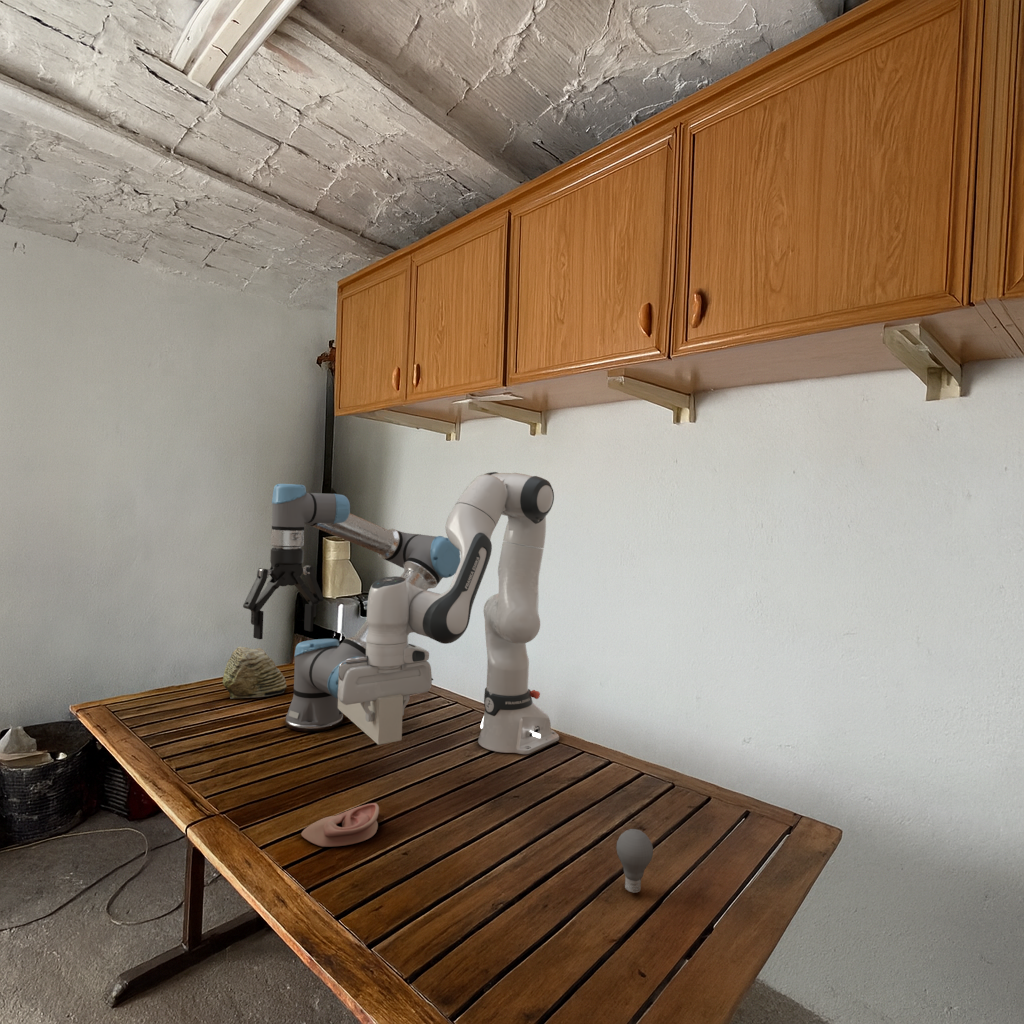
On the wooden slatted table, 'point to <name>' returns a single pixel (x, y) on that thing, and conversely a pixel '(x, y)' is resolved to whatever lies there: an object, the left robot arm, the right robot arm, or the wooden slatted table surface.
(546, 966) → the wooden slatted table surface
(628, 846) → the light bulb
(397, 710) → the bar
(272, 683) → the fossil
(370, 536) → the left robot arm
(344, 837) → the anatomical model
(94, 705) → the wooden slatted table surface
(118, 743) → the wooden slatted table surface
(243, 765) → the wooden slatted table surface
